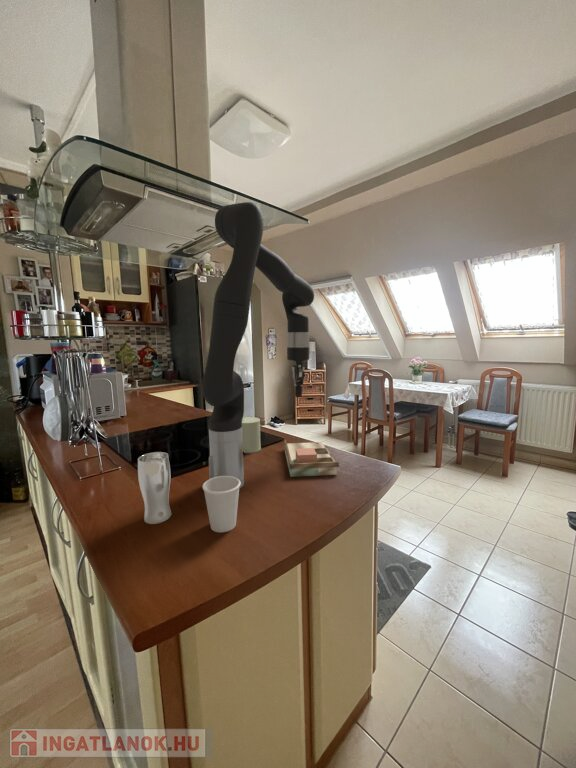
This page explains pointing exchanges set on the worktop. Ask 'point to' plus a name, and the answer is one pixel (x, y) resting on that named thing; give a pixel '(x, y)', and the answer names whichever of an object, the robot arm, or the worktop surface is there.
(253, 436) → the can
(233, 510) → the dixie cup
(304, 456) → the salmon pink square block
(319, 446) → the board
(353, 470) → the worktop surface
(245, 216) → the robot arm
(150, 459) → the beer glass
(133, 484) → the worktop surface
